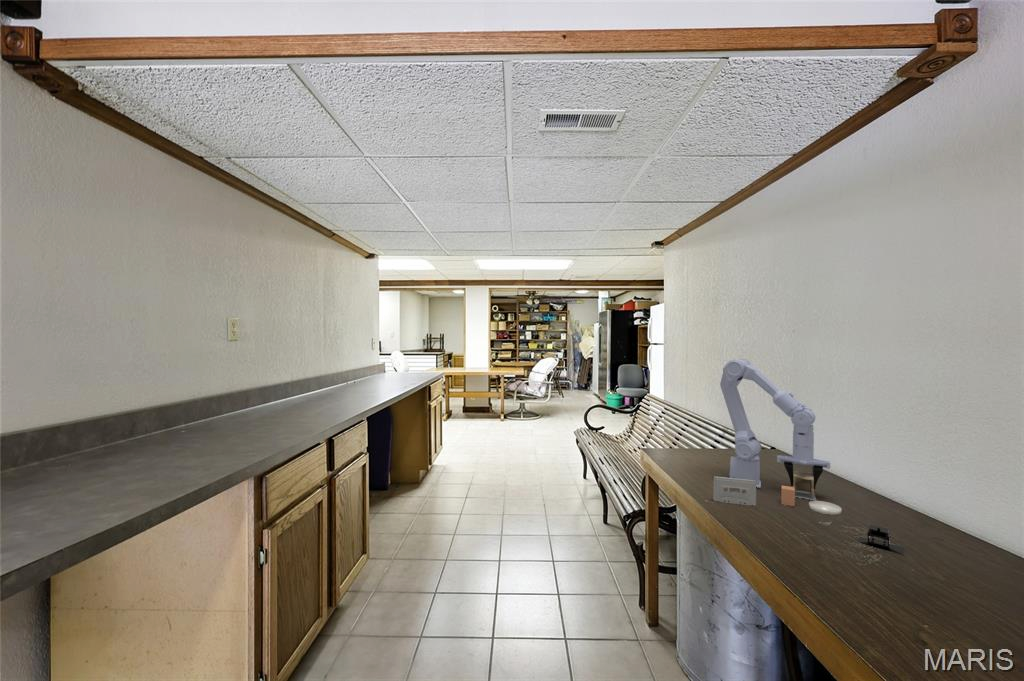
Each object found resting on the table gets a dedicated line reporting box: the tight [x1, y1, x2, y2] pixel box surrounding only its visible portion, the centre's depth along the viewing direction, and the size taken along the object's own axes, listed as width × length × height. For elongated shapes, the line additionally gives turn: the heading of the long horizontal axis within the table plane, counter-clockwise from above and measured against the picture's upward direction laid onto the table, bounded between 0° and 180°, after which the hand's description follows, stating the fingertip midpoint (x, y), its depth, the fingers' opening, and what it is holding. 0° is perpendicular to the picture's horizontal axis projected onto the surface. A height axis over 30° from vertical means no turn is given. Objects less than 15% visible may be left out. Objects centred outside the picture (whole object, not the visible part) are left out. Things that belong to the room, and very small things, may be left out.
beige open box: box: [791, 470, 815, 498], centre depth 145 cm, size 5×6×6 cm
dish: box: [808, 500, 842, 516], centre depth 133 cm, size 8×8×1 cm
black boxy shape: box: [857, 524, 905, 556], centre depth 111 cm, size 12×7×5 cm, turn 47°
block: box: [780, 485, 796, 507], centre depth 138 cm, size 3×3×5 cm
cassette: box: [712, 475, 757, 507], centre depth 138 cm, size 12×2×8 cm, turn 70°
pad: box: [795, 490, 817, 501], centre depth 145 cm, size 7×7×1 cm
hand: (802, 486), depth 145 cm, fingers closed on beige open box, 5 cm apart
